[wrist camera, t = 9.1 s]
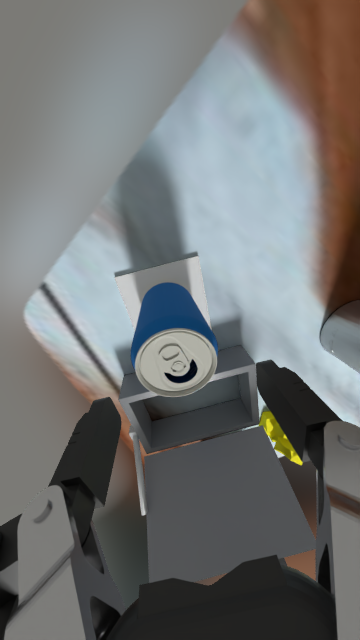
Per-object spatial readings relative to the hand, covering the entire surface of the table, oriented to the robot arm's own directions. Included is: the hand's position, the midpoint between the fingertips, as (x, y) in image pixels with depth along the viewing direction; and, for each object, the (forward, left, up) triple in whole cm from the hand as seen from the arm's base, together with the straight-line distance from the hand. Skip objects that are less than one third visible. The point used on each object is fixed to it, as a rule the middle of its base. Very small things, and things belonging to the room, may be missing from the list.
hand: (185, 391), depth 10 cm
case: (+1, +17, -15) cm, 23 cm away
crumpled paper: (-14, +28, -15) cm, 35 cm away
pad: (0, 0, -15) cm, 15 cm away
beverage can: (0, 0, -15) cm, 15 cm away
